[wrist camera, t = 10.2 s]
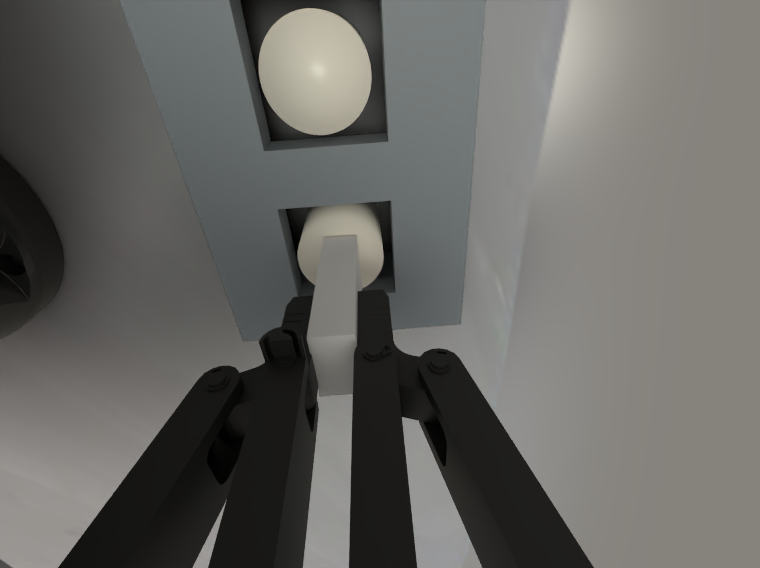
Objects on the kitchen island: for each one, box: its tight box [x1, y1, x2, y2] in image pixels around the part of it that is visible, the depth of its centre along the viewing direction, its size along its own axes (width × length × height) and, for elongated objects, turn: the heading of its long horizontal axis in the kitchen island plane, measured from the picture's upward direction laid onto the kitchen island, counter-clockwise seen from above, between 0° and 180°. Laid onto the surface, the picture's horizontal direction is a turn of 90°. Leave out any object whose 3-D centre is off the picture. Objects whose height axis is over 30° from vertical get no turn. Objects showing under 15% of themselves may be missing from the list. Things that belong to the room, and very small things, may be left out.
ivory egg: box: [298, 202, 384, 288], centre depth 20 cm, size 4×4×5 cm
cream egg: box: [259, 8, 372, 135], centre depth 16 cm, size 4×4×5 cm
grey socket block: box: [119, 0, 486, 341], centre depth 16 cm, size 25×12×5 cm, turn 4°
